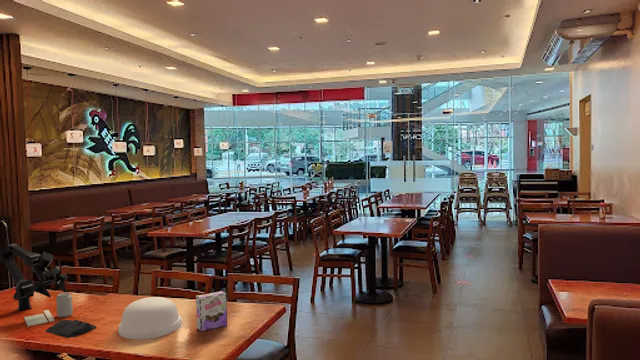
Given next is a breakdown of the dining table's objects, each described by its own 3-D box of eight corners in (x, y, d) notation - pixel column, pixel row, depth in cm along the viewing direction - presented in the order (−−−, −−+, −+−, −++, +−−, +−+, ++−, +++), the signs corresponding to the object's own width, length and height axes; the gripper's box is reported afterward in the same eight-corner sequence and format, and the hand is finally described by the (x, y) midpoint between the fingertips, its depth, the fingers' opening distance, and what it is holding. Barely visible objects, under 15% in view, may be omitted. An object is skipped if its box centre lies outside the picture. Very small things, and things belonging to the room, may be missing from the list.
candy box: (200, 331, 233) (199, 298, 232) (196, 328, 238) (195, 295, 237) (227, 325, 240) (226, 293, 239) (223, 322, 245) (222, 290, 244)
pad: (24, 318, 259) (24, 317, 259) (43, 314, 264) (43, 313, 264) (27, 326, 246) (27, 325, 246) (47, 322, 251) (47, 321, 251)
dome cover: (117, 322, 249) (116, 295, 248) (177, 313, 261) (176, 287, 260) (118, 344, 220) (117, 314, 219) (186, 333, 232) (185, 304, 231)
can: (66, 318, 257) (64, 296, 256) (53, 317, 259) (52, 295, 258) (76, 313, 264) (74, 291, 264) (64, 312, 266) (62, 291, 265)
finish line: (43, 311, 269) (43, 310, 269) (48, 310, 271) (48, 309, 271) (49, 322, 252) (49, 321, 252) (54, 320, 253) (54, 320, 253)
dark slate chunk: (71, 322, 252) (70, 313, 251) (99, 329, 241) (98, 319, 241) (42, 332, 238) (41, 323, 238) (70, 339, 228) (70, 330, 228)
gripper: (32, 267, 255) (48, 289, 252) (64, 259, 272) (79, 280, 269) (24, 280, 259) (39, 303, 255) (55, 272, 276) (70, 293, 272)
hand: (57, 294), depth 263 cm, fingers open, 9 cm apart
